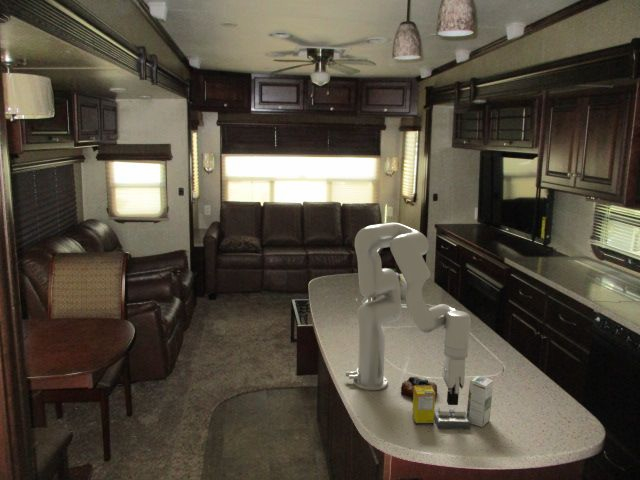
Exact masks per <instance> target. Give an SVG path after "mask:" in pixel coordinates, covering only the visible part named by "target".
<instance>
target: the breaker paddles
mask: <svg viewBox="0 0 640 480" xmlns="http://www.w3.org/2000/svg"><path fill="white" fill-rule="evenodd" d="M437 409H438V413H439V415H449V413H454V414H455V416H464V414H465V413H466V411H465V407H464V406H454V407H453V410H454V411H449V410H450V408H449V406H438V408H437Z"/></svg>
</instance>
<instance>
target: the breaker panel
mask: <svg viewBox="0 0 640 480" xmlns="http://www.w3.org/2000/svg"><path fill="white" fill-rule="evenodd" d="M438 409H439V408H437V409H436V408H435V409H434V423H435V424H436V428H437V429H438V430H470V429H471V423H470V421H469V419H468V417H467V412H465V414H464V416H455V414H454V413H449V415H439V413H438ZM449 411H454V409H449Z"/></svg>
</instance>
